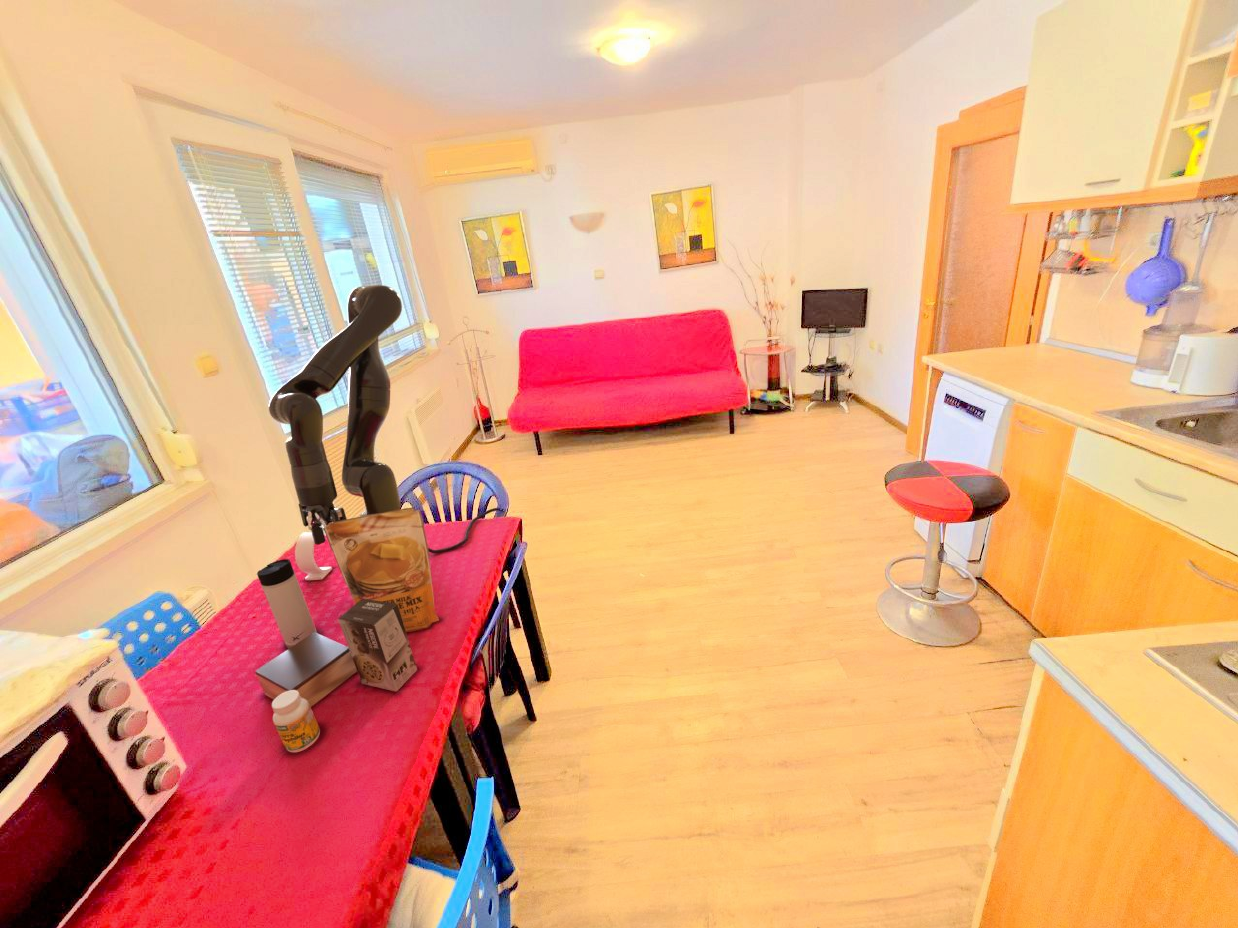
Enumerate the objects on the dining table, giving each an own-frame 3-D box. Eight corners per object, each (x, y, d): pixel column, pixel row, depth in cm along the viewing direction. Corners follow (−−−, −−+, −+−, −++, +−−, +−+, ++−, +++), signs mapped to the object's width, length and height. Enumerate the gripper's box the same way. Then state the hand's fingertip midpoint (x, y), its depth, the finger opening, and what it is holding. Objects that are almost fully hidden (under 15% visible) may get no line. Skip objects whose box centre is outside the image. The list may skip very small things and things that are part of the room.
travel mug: (304, 650, 110) (274, 573, 103) (279, 648, 112) (247, 572, 104) (325, 631, 116) (297, 556, 108) (301, 629, 117) (272, 555, 110)
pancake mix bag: (362, 624, 117) (326, 517, 107) (447, 608, 120) (420, 503, 110) (354, 644, 111) (316, 532, 101) (443, 626, 114) (415, 516, 104)
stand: (322, 654, 109) (314, 631, 106) (358, 670, 103) (349, 647, 101) (265, 694, 99) (254, 670, 97) (300, 715, 93) (290, 690, 91)
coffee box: (418, 668, 102) (399, 603, 96) (396, 693, 96) (374, 625, 91) (383, 660, 105) (362, 596, 99) (359, 683, 100) (336, 617, 94)
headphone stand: (332, 569, 142) (319, 531, 137) (319, 581, 136) (306, 543, 132) (316, 569, 142) (303, 532, 137) (303, 582, 136) (289, 544, 132)
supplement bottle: (324, 723, 91) (308, 683, 88) (315, 749, 86) (297, 707, 83) (292, 731, 90) (274, 690, 87) (280, 757, 85) (261, 715, 82)
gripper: (349, 479, 111) (364, 545, 116) (312, 472, 118) (328, 534, 123) (315, 491, 105) (333, 560, 110) (279, 482, 112) (297, 547, 117)
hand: (331, 546), depth 117 cm, fingers open, 8 cm apart
